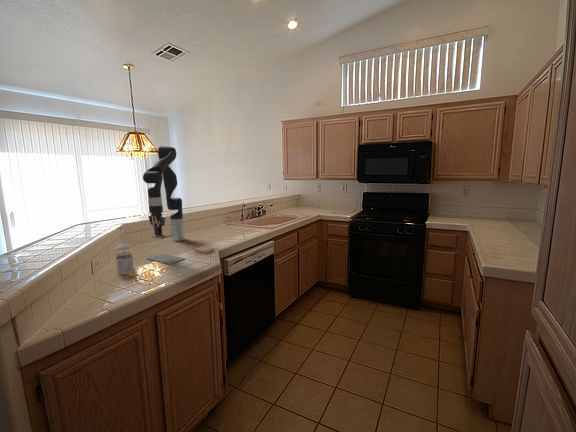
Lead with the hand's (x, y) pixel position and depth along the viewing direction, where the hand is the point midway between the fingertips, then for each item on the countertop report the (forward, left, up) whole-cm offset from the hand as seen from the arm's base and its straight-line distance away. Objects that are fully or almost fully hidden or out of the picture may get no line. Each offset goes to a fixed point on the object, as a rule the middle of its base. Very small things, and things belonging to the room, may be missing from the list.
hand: (158, 232), depth 172 cm
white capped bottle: (+4, -24, -17) cm, 30 cm away
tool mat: (+5, 0, -17) cm, 17 cm away
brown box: (+4, 0, -2) cm, 4 cm away
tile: (+9, +23, -16) cm, 29 cm away
